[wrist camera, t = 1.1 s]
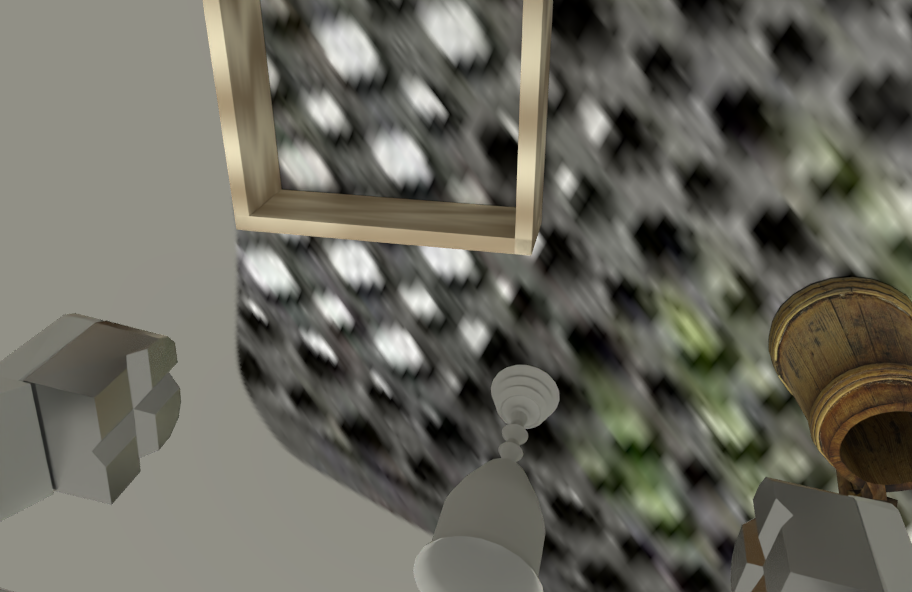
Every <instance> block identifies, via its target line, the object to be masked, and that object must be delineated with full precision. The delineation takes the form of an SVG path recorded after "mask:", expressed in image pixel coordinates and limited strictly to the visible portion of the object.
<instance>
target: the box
mask: <svg viewBox="0 0 912 592" xmlns="http://www.w3.org/2000/svg"><path fill="white" fill-rule="evenodd" d="M203 6H204V13H205V19H206V26H207V33H208V40H209V47H210V53H211V60H212V66H213V73H214V80H215V86H216V93H217V100H218V107H219V114H220V120H221V127H222V134H223V141H224V147H225V154H226V161H227V167H228V174H229V181H230V188H231V194H232V201H233V208H234V214H235V221H236V228H237V230H249V231H260V232H271V233H283V234H294V235H305V236H317V237H328V238H339V239H350V240H362V241H373V242H384V243H396V244H407V245H418V246H429V247H441V248H452V249H463V250H475V251H486V252H497V253H509V254H520V255H531V254H532V251H533V248H534V245H535V242H536V239H537V236H538V233H539V229H540V226H541V220H542V201H543V182H544V163H545V144H546V125H547V105H548V86H549V67H550V48H551V29H552V10H553V0H523V27H522V55H521V83H520V112H519V140H518V169H517V197H516V207H504V206H491V205H478V204H465V203H452V202H439V201H425V200H412V199H399V198H386V197H373V196H360V195H347V194H334V193H321V192H308V191H295V190H282V188H281V179H280V171H279V162H278V153H277V145H276V136H275V128H274V119H273V110H272V102H271V93H270V85H269V76H268V67H267V59H266V50H265V42H264V33H263V24H262V16H261V7H260V0H203Z"/></svg>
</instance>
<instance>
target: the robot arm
mask: <svg viewBox="0 0 912 592" xmlns="http://www.w3.org/2000/svg"><path fill="white" fill-rule="evenodd" d="M177 362H178V361H177V354H176V347H175V343H174V341H172V340H171V339H170V338H169V337H168V336H164V335H160V334H156V333H152V332H148V331H145V330H141V329H137V328H133V327H129V326H125V325H121V324H118V323H114V322H110V321H103V320H101V319H96V318H93V317H89V316H85V315H81V314H76V313H73V314H65V315H63V316H62V317H60V318H59V319H57V320H56V321H55V322H53V323H52V324H50V325H49V326H48V327H46V328H45V329H44V330H42V331H41V332H40V333H38V334H37V335H36V336H34V337H33V338H31V339H30V340H29V341H27V342H26V343H25V344H23V345H22V346H21V347H19V348H18V349H17V350H15V351H14V352H12V353H11V354H10V355H8V356H7V357H6V358H4V359H3V360H2V361H0V522H1V521H3V520H5V519H7V518H9V517H10V516H12V515H14V514H16V513H18V512H20V511H22V510H24V509H26V508H28V507H30V506H32V505H34V504H36V503H38V502H39V501H41V500H43V499H45V498H47V497H49V496H51V495H53V493H54V492H53V491H56V492H61V493H65V494H70V495H73V496H77V497H82V498H86V499H90V500H95V501H98V502H102V503H107V504H113V502H114V501H115V500H116V499H117V498H118V497H119V495H120V494H121V493H122V492H123V491H124V490H125V489H126V488H127V486H128V485H129V484H130V483H131V482H132V481H133V480H134V478H135V477H136V476H137V475H138V474H139V473H140V458H141V457H143V456H146V455H148V454H151V453H153V452H155V451H158V450H159V449H160V448H161V447H162V446H163V445H164V443H165V442H166V441H167V440H168V438H169V437H170V436H171V433H172V431H173V429H174V427H175V424H176V422H177V420H178V418H179V411H180V404H181V396H180V388H179V386H178V384H177V383H176V382H175V380H174V379H173V377H172V376H171V375H170V373H169V372H170V370H171V369H172V368H173V367H174V366H175V365H176V363H177ZM753 503H754V510H755V517H756V518H754V519H752V520H750V521H748V522H746V523H745V524H743V525H742V527H741V530H740V532H739V535H738V538H737V540H736V543H735V547H734V552H733V557H732V562H731V592H912V544H911V541H910V538H909V536H908V533H907V531H906V528H905V526H904V523H903V520H902V518H901V515H900V513H899V510H898V509H897V508H896V507H895V506H894V505H893V504H891V503H886V502H881V501H876V500H872V499H867V498H862V497H857V496H853V495H848V496H846V495H842V494H838V493H834V492H829V491H825V490H821V489H816V488H812V487H808V486H803V485H799V484H794V483H790V482H786V481H781V480H777V479H773V478H768V477H765V479H764V480H763V481H762V482H761V484H760V485H759V487H758V489H757V492H756V494H755V496H754V498H753ZM0 592H14V591H10V590H7V589H4V588H0Z"/></svg>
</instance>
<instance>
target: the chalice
mask: <svg viewBox="0 0 912 592" xmlns="http://www.w3.org/2000/svg"><path fill="white" fill-rule="evenodd" d="M491 394H492V398H493V400H494V404H495V406H496V409H497V412H498V414H499V416H500V417H501V418H502V419H503V421H504V422H506V423H507V424H508V425H506V426H505V427H504V428H503V430H502V435H503V437H504V439H505V440H506V442H505V443H503V444H501V445H500V446H499V454H500V456H501V458H498V459H493V460H491V461H489V462H487V463H486V464H484V465H483V466H481V467H480V468H478V469H477V470H475V471H473V472H472V473H470V474H469V475H467V476H466V477H465V478H464V479H463V480H462V481H461V482H460V483H459V484H458V485H457V486H456V487H455V488H454V489H453V491H452V492H451V493H450V494H449V496H448V497H447V498H446V500H445V503H444V506H443V509H442V512H441V515H440V518H439V521H438V524H437V527H436V530H435V533H434V536H433V539H432V541H431V542H430V543H428V544H427V545H426V546H425V547H424V548H423V549H422V550H421V552H420V553H419V554H418V555H417V556H416V559H415V565H414V570H413V573H414V577H415V581H416V585H417V587H418V589H419V591H420V592H543V588H542V584H541V582H540V580H539V578H538V575H539V568H540V562H541V556H542V550H543V544H544V537H545V527H544V520H543V516H542V512H541V509H540V505H539V502H538V498H537V496H536V494H535V492H534V490H533V488H532V486H531V484H530V482H529V480H528V478H527V476H526V474H525V472H524V470H523V469H522V468H521V467H520V466H519V465H518V464H516V462H517V461H518V460H520V459H521V458H522V456H523V451H522V449H521V448H520V445H521V444H523V443H525V442H526V441H527V439H528V433H527V431H526V430H525V429H529V428H534V427H536V426H538V425H540V424H541V423H542V422H543V421H544V420H546V419H547V417H548V416H550V415H551V414H552V413H553V412H554V411H555V410H556V408H557V406H558V403H559V390H558V388H557V385H556V383H555V381H554V380H553V379H552V378H551V377H550V376H549V375H548V374H547V373H545V372H544V371H542V370H541V369H539V368H536V367H533V366H529V365H514V366H510V367H507V368H505V369H503V370H502V371H500V372H499V373H498V374H497V375H496V377H495V378H494V379H493V382H492V386H491Z"/></svg>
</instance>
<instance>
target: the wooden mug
mask: <svg viewBox="0 0 912 592" xmlns="http://www.w3.org/2000/svg"><path fill="white" fill-rule="evenodd" d="M769 353H770V356H771V360H772V363H773V366H774V368H775V370H776V372H777V374H778V376H779V378H780V379H781V381H782V382H783V384H784V385H785V386H786V388H787V389H788V390H789V392H790V393H791V394H792V395H793V396H794V397H795V399H796V401H797V402H798V404H799V406H800V408H801V409H802V411H803V413H804V415H805V416H806V418H807V420H808V422H809V423H808V424H809V428H810V433H811V438H812V440H813V442H814V444H815V445H816V447H817V448H818V450H819V451H820V452H821V453H822V455H823V456H824V457H825V458H826V459H827V460H828V461H829V463H830V464H831V465H833V466H834V467H835V468H836V473H837V481H838V489H839V494H842V495H846V496H848V495H853V496H857V497H862V498H867V499H872V500H876V501H881V502H886V503H891V504H893V505H894V506H895V507H896V508H897V501H898V500H895V499H892V498H889V497H887V496H886V492H895V491H904V490H910V489H912V302H911V301H910V300H909V298H908V297H907V296H906V295H904V294H903V293H901V292H899V291H898V290H896V289H894V288H893V287H891V286H889V285H886V284H884V283H881V282H878V281H875V280H872V279H865V278H858V277H845V278H834V279H829V280H826V281H822V282H819V283H816V284H812V285H810V286H808V287H807V288H805V289H803V290H801V291H800V292H798V293H796V294H794V295H793V296H792V297H791V298H790V299H789V300H787V301H786V302H785V303H784V304H783V305H782V306H781V307H780V308H779V310H778V312H777V314H776V316H775V318H774V320H773V321H772V326H771V330H770V335H769Z"/></svg>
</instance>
